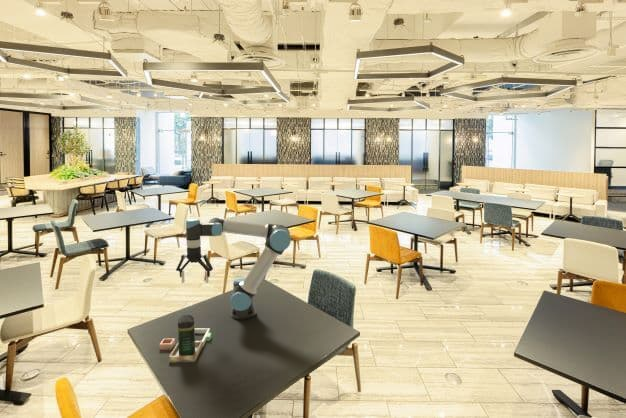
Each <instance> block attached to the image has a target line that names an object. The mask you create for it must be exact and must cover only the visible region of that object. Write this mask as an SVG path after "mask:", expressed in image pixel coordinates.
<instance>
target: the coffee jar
mask: <svg viewBox="0 0 626 418" xmlns="http://www.w3.org/2000/svg"><path fill="white" fill-rule="evenodd" d="M177 339H178V340H177V343H178V344H179V355H180V356H190V355H193V354H194V352H195V341H196V333H195V317H194V316H192V315H191V314H185V315H181V316H180V317H179V318H178V320H177Z"/></svg>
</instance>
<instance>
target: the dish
mask: <svg viewBox="0 0 626 418" xmlns="http://www.w3.org/2000/svg"><path fill="white" fill-rule="evenodd" d="M175 346H176V338H175V337H174V338H173V337H172V338H169V337H168V338H163V339H162V341H161V342H160V343H159V350H161V351H162V350H163V351H167V350H168V351H169V350H171V351H173V349H174V348H175Z"/></svg>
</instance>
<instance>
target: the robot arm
mask: <svg viewBox="0 0 626 418" xmlns="http://www.w3.org/2000/svg"><path fill="white" fill-rule="evenodd" d="M222 233H226V234H232V235H233V234H234V235H243V236H251V237H257V238H264V239H265V240H266V242H265V243H264V247H265V248H264V249H263V250H262V252H261V253H260V255H259V257H258V258H257V260H256V262H255V263H254V265H252V267H251V269H250V270H249V272H248V273H247V275H246V277H241V278H235V279H234V280H233V283H232V285H233V287H232V291H231V292H232V293H231V296H230V297H229V298H230V299H229V300H230V301H229V302H230V306H231V307H232V308H231V311H230V313H231V314H230V315H231V317H232V318H233V319H235V320H248V319H251V318H254V317H255V316H256V313H257V311H256V308H255V304H254V301H253V300H254V298H255V296H256V294H257V293H258V291H257V288H258V287H259V286H260V284H261V283H262V281H263V279H264V278H265V276H266V274H267V273H268V272H269V270H270V268H271V267H272V265H273V263H274V262H275V260H276V259H277V258H278V256H281V255H283V253H284V251H285V250H287V249H288V247H290V245H291V242H292V238H291V237H292V236H291V234H290V233H291V232H290V229H289V228H287V226H286V225H283V224H274V223H267V224H259V223H253V222H251V223H250V222H245V221H243V222H242V221H235V220H234V221H233V220H230V219H229V220H228V219H220V218H219V217H213V218H210V220H209V221H208V222H201V220H200V219H198V218H191V219H190V218H189V219H187V220H186V221H185V234H186V254H185V253H183V254H182V255H181V256H180V261H179V262H178V265H177V267H176V269H175V271H176V272H179V277H180V278H181V284H184V283H185V270H184V269H185V268H186V267H187V265H189V263H191V264H193V263H195V264H196V263H198V265H199V264H200V266H201V267H202V268H203V269H204V270H205V284H208V282H209V278H210V276H211V272H212V271H213V269H214V267H213V266H212V264H211V261H210V260H209V258H208V255H207V253H205V254H202V249H201V244H202V243H201V237H220V236H222ZM185 259H187V260H186V262H185V263H184V260H185ZM183 263H184V264H183ZM205 263H206V264H205Z"/></svg>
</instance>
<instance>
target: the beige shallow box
mask: <svg viewBox="0 0 626 418" xmlns="http://www.w3.org/2000/svg"><path fill="white" fill-rule="evenodd" d="M203 347H204V346H203V341H202V340H195V352H194V354H193V355H190V356H180V355H179V344H178V342H177V343H175V345H174V347H173V348H172V350H171V352H170V353H169V355H168V362H169V363H196V362H197V360H198V357H199V356H200V354H201V351H202V349H203Z"/></svg>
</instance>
